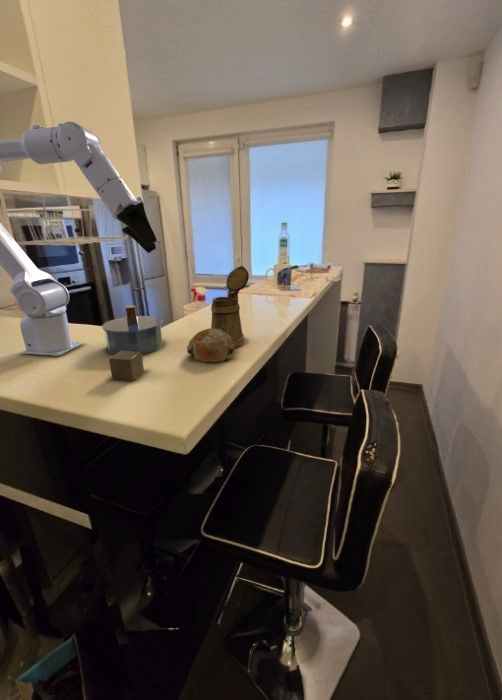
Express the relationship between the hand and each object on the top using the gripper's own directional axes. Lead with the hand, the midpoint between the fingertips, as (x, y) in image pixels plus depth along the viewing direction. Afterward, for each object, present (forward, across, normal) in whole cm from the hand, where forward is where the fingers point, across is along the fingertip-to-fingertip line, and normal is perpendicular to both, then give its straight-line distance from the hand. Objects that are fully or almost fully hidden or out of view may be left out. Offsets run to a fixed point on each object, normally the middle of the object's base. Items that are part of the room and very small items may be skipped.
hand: (152, 247), depth 68 cm
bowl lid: (+11, +10, +13) cm, 20 cm away
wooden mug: (+28, +9, -4) cm, 30 cm away
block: (+18, -5, +19) cm, 27 cm away
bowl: (+16, +12, +16) cm, 25 cm away
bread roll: (+26, 0, +3) cm, 26 cm away
